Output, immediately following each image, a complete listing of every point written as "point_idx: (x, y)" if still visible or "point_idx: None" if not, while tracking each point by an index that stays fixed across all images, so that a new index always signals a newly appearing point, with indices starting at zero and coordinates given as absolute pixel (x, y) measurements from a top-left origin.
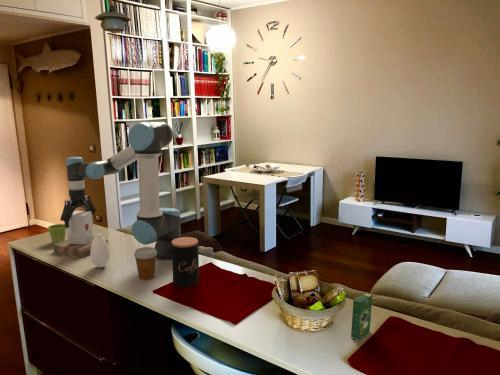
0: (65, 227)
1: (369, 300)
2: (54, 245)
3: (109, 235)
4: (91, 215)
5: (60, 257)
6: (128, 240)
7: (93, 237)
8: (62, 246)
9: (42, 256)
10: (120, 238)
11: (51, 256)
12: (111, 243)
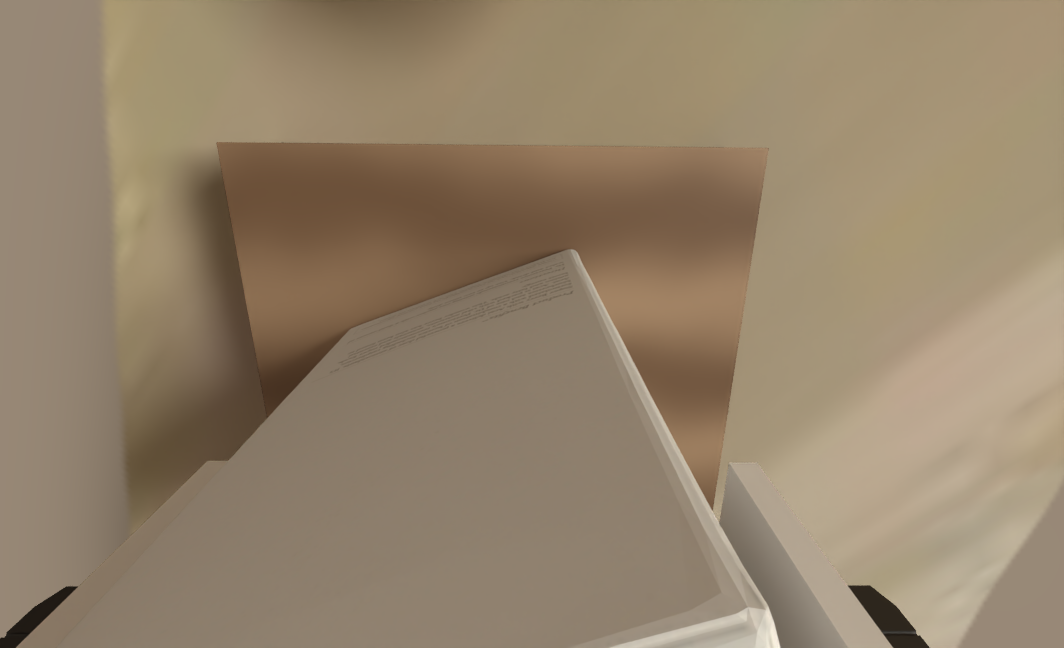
0: (63, 595)
1: None
2: (227, 168)
3: (1041, 269)
4: None
5: (226, 346)
6: (905, 551)
7: (705, 399)
8: (251, 327)
9: (111, 138)
10: (951, 451)
11: (180, 236)
12: (775, 478)
